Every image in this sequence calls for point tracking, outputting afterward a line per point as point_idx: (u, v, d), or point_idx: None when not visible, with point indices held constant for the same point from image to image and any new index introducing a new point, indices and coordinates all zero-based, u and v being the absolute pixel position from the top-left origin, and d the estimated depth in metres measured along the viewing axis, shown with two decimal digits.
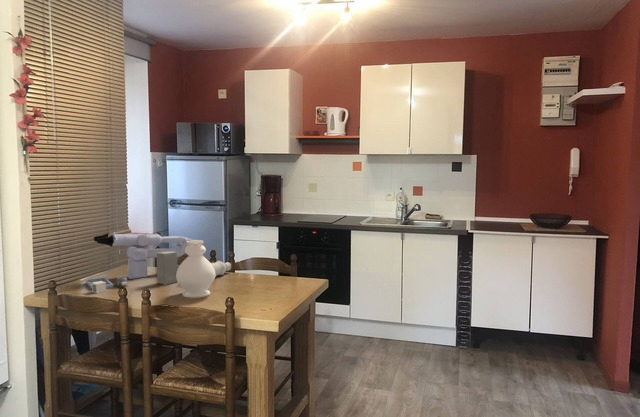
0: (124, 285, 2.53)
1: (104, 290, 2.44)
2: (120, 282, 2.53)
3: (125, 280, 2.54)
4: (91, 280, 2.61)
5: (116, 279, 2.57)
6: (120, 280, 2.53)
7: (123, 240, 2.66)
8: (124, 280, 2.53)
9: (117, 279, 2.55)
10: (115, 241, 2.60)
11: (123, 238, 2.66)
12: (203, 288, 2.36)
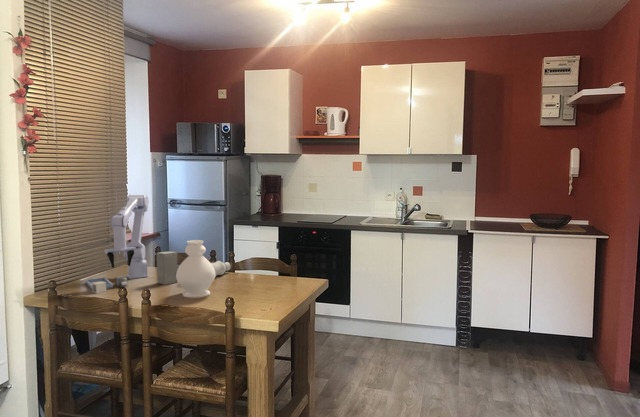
0: (124, 285, 2.53)
1: (104, 290, 2.44)
2: (120, 282, 2.53)
3: (125, 280, 2.54)
4: (91, 280, 2.61)
5: (116, 279, 2.57)
6: (120, 280, 2.53)
7: None
8: (124, 280, 2.53)
9: (117, 279, 2.55)
10: None
11: None
12: (203, 288, 2.36)
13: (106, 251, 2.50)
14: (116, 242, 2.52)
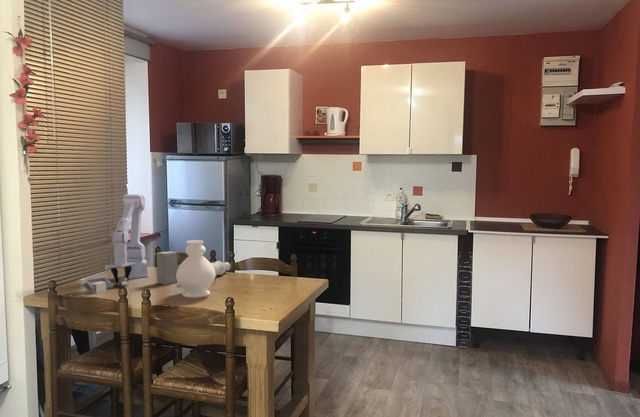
0: (124, 285, 2.53)
1: (104, 290, 2.44)
2: (120, 282, 2.53)
3: (125, 280, 2.54)
4: (91, 280, 2.61)
5: None
6: (120, 280, 2.53)
7: None
8: (124, 280, 2.53)
9: None
10: None
11: (126, 256, 2.56)
12: (203, 288, 2.36)
13: (107, 267, 2.51)
14: (117, 258, 2.53)
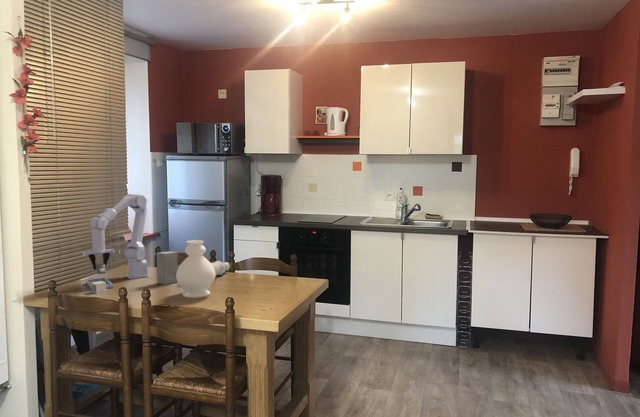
0: (102, 272, 2.51)
1: (104, 290, 2.44)
2: (98, 269, 2.51)
3: (103, 267, 2.51)
4: (91, 280, 2.61)
5: None
6: (98, 267, 2.50)
7: None
8: (102, 267, 2.51)
9: None
10: None
11: (104, 242, 2.54)
12: (203, 288, 2.36)
13: (84, 253, 2.49)
14: (94, 244, 2.51)
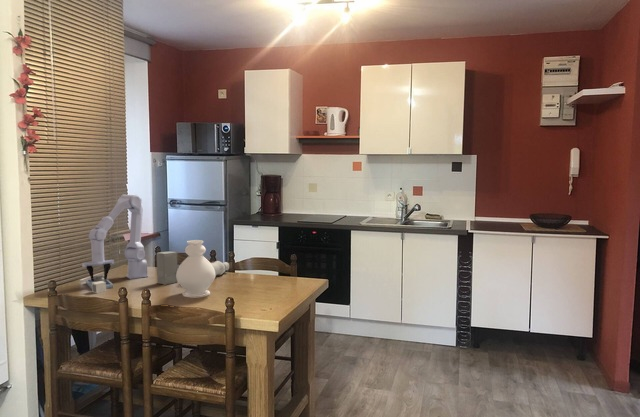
0: None
1: (104, 290, 2.44)
2: None
3: (102, 280, 2.52)
4: None
5: (94, 279, 2.55)
6: (97, 280, 2.51)
7: None
8: (101, 280, 2.52)
9: (94, 279, 2.54)
10: None
11: None
12: (203, 288, 2.36)
13: (83, 265, 2.50)
14: (94, 256, 2.51)
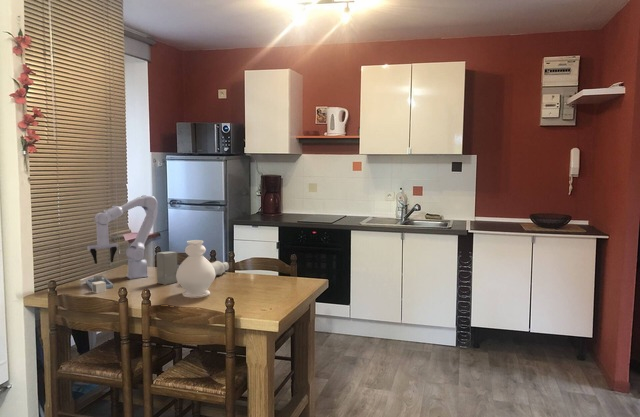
0: None
1: (104, 290, 2.44)
2: None
3: (102, 280, 2.52)
4: (91, 280, 2.61)
5: (94, 279, 2.55)
6: (97, 280, 2.51)
7: None
8: (101, 280, 2.52)
9: (94, 279, 2.54)
10: None
11: (108, 237, 2.62)
12: (203, 288, 2.36)
13: (89, 247, 2.57)
14: (99, 239, 2.59)
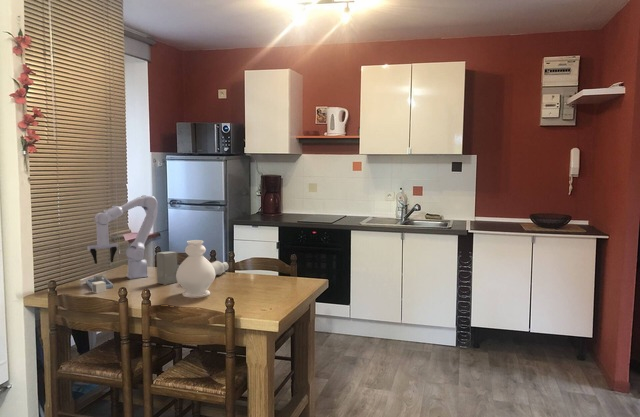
0: None
1: (104, 290, 2.44)
2: None
3: (102, 280, 2.52)
4: (91, 280, 2.61)
5: (94, 279, 2.55)
6: (97, 280, 2.51)
7: None
8: (101, 280, 2.52)
9: (94, 279, 2.54)
10: None
11: (108, 237, 2.62)
12: (203, 288, 2.36)
13: (89, 247, 2.57)
14: (99, 239, 2.59)
